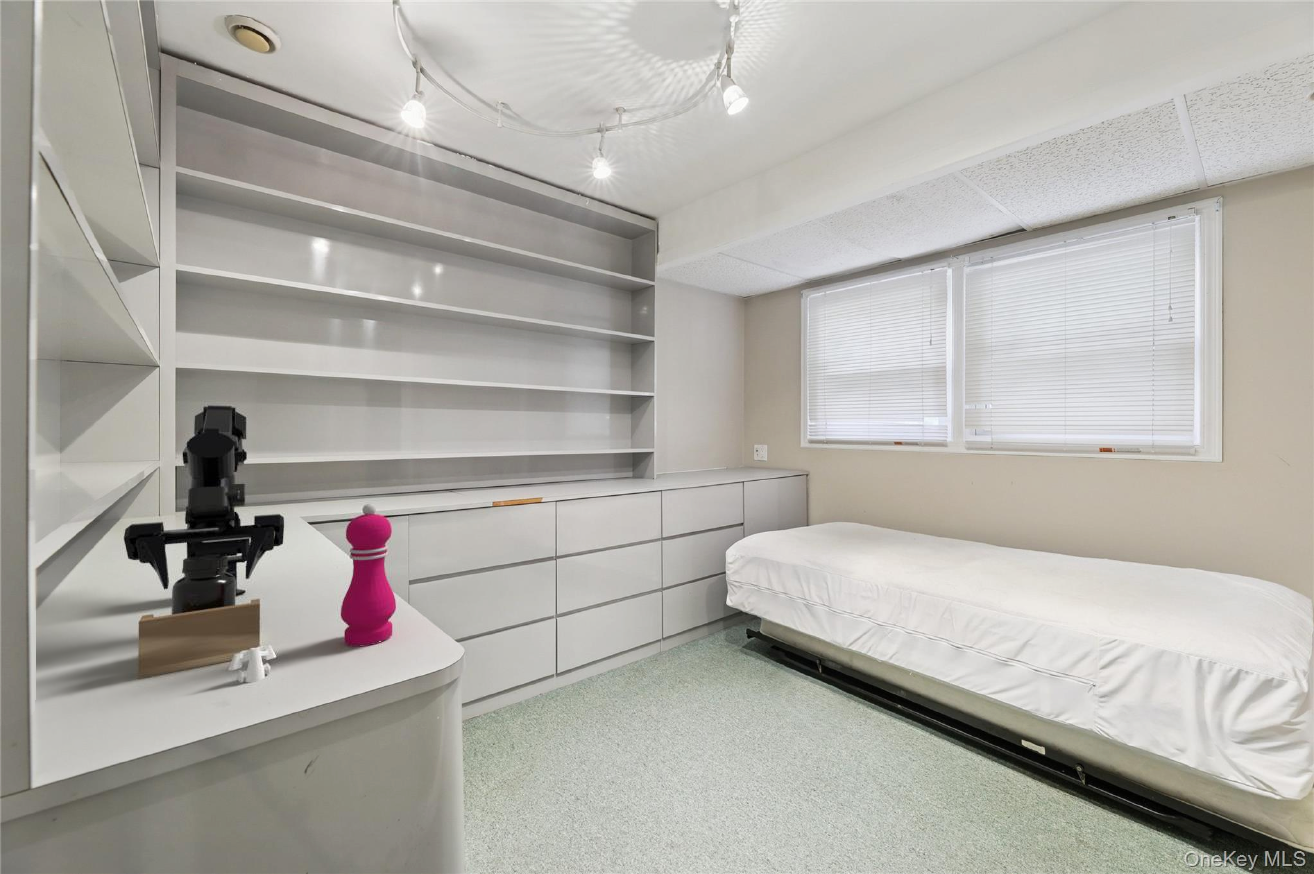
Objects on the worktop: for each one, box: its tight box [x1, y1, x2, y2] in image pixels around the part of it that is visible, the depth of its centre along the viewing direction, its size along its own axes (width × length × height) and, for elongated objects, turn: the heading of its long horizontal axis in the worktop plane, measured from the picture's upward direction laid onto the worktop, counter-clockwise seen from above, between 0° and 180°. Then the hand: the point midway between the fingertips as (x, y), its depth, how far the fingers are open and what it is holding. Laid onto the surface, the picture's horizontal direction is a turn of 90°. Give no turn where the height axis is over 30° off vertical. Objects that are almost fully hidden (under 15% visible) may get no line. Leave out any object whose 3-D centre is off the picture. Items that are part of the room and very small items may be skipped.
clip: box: [227, 644, 277, 684], centre depth 66 cm, size 5×2×4 cm, turn 146°
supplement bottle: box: [170, 554, 237, 615], centre depth 74 cm, size 7×7×12 cm
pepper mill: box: [340, 503, 397, 647], centre depth 79 cm, size 7×7×20 cm
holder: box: [137, 598, 261, 679], centre depth 74 cm, size 11×12×7 cm
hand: (207, 582), depth 78 cm, fingers open, 9 cm apart
